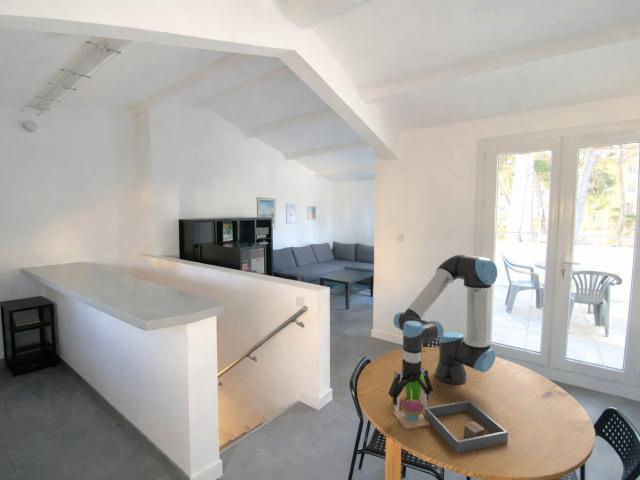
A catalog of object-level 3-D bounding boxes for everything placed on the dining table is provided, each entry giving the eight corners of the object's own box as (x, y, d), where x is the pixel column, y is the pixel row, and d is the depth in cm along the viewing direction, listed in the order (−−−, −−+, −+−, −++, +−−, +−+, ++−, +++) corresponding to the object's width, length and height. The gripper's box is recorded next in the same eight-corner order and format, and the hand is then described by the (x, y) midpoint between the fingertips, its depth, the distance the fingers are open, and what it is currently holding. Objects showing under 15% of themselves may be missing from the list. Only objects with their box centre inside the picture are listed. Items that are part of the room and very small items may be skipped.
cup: (423, 405, 151) (424, 382, 150) (402, 403, 153) (403, 380, 152) (422, 394, 160) (422, 372, 159) (402, 392, 162) (402, 370, 161)
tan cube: (473, 433, 133) (473, 421, 133) (484, 441, 128) (484, 428, 128) (463, 436, 131) (464, 424, 131) (474, 445, 126) (475, 432, 126)
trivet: (416, 409, 149) (416, 408, 149) (430, 425, 138) (430, 423, 138) (393, 413, 146) (393, 411, 146) (405, 429, 135) (405, 428, 135)
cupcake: (399, 412, 146) (399, 385, 145) (418, 410, 147) (418, 384, 145) (406, 424, 137) (406, 396, 136) (426, 423, 138) (427, 395, 137)
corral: (468, 409, 149) (469, 400, 148) (507, 442, 128) (507, 432, 127) (424, 416, 143) (425, 407, 143) (457, 452, 123) (457, 442, 122)
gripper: (432, 352, 146) (431, 400, 148) (380, 358, 140) (379, 408, 142) (443, 360, 139) (441, 410, 141) (388, 367, 133) (387, 419, 135)
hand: (410, 409), depth 142 cm, fingers open, 12 cm apart
